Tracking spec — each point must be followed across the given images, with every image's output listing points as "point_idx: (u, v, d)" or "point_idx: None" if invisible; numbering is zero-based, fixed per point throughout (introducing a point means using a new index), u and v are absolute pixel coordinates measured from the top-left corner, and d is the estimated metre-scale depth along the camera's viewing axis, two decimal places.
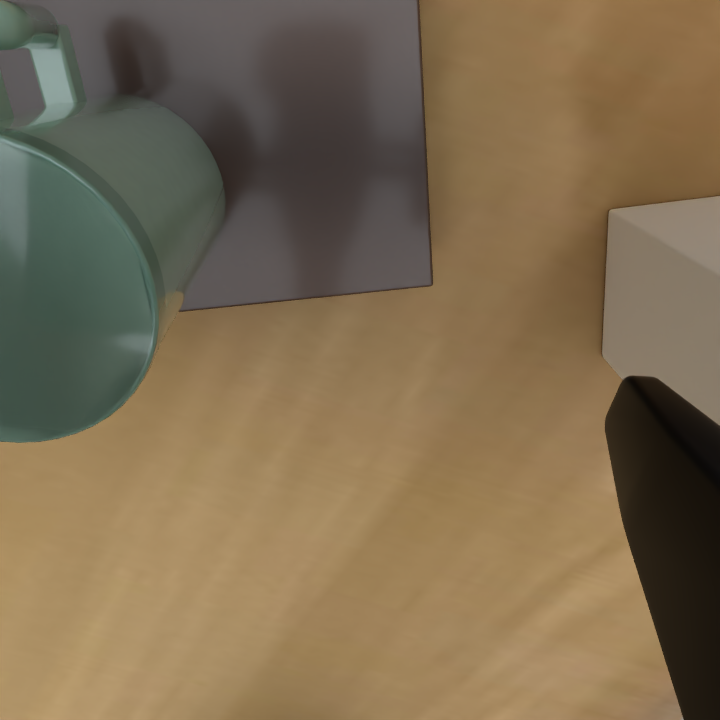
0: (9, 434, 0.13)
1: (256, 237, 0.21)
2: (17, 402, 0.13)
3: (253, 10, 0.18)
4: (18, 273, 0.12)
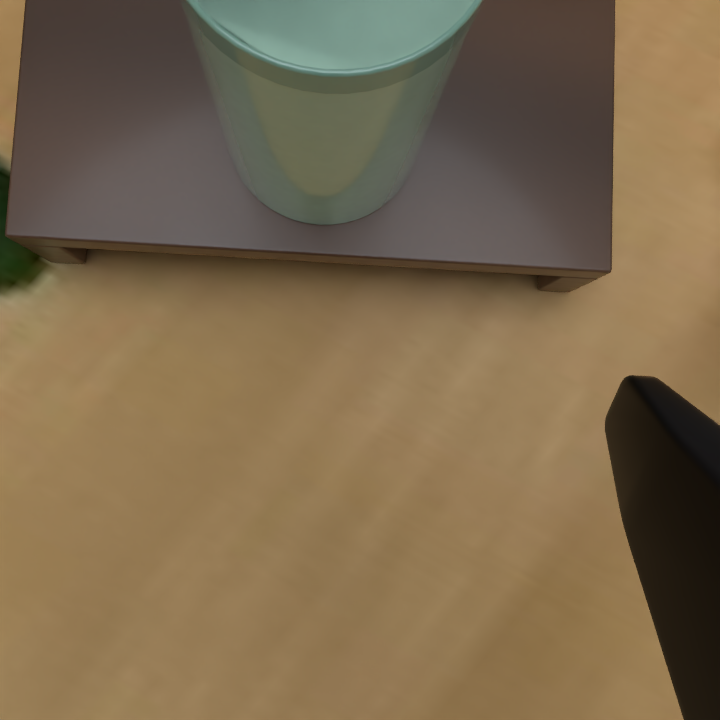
0: (295, 57, 0.11)
1: (440, 190, 0.20)
2: (319, 20, 0.11)
3: None
4: None
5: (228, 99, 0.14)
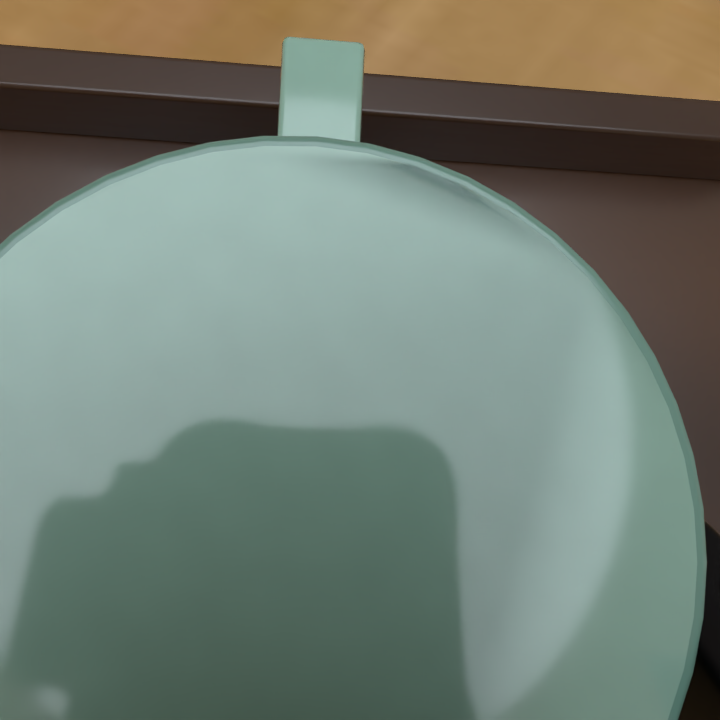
0: None
1: None
2: None
3: None
4: (396, 484, 0.05)
5: None
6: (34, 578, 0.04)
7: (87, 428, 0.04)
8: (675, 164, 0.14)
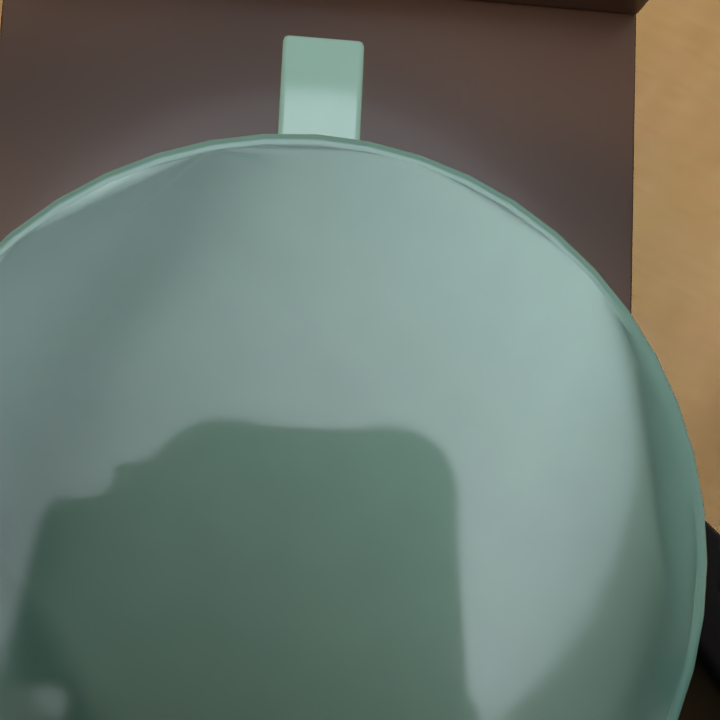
0: None
1: None
2: None
3: (484, 64, 0.19)
4: (397, 483, 0.05)
5: None
6: (34, 576, 0.04)
7: (87, 426, 0.04)
8: None
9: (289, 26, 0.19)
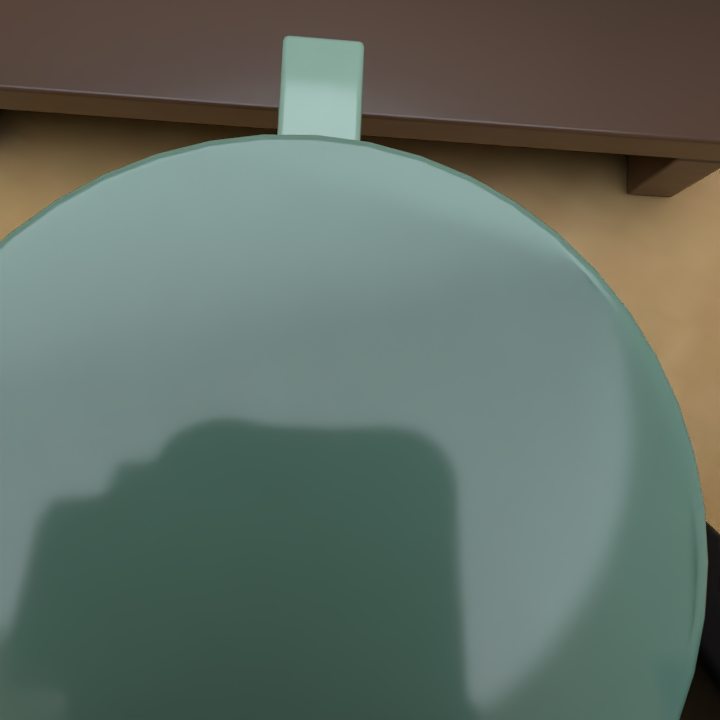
0: None
1: (506, 22, 0.14)
2: None
3: None
4: (397, 485, 0.05)
5: None
6: (33, 578, 0.04)
7: (86, 428, 0.04)
8: None
9: None
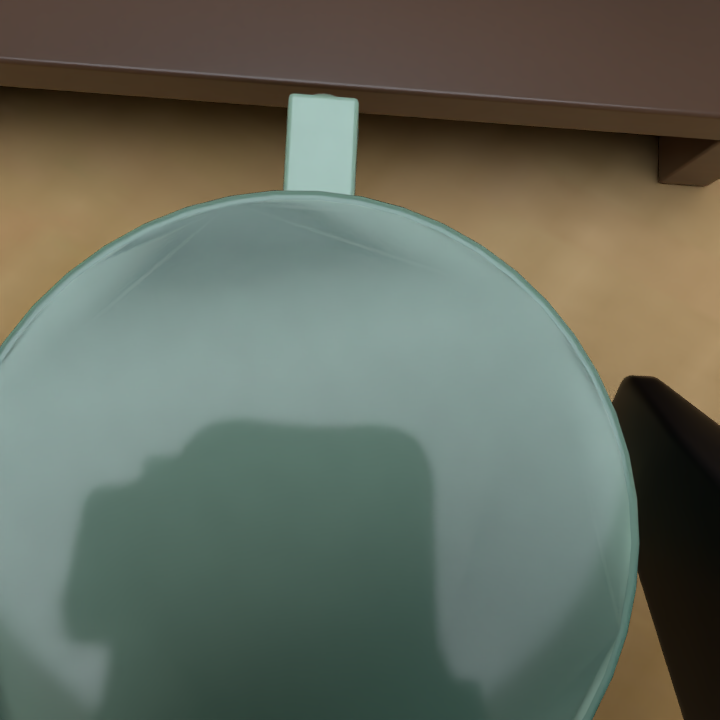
0: None
1: None
2: None
3: None
4: (383, 478, 0.06)
5: None
6: (88, 554, 0.05)
7: (130, 432, 0.06)
8: None
9: None
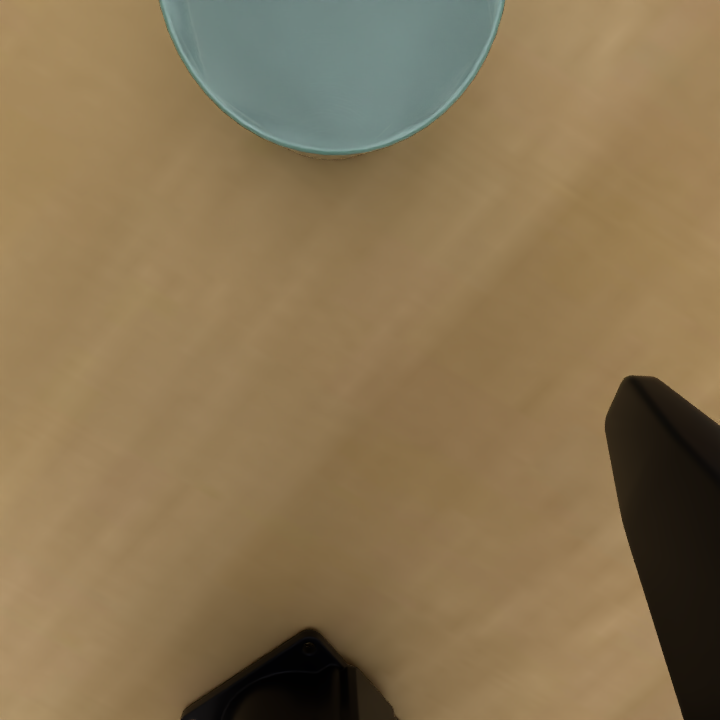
0: (296, 137, 0.12)
1: None
2: (319, 98, 0.12)
3: None
4: None
5: None
6: None
7: None
8: None
9: None
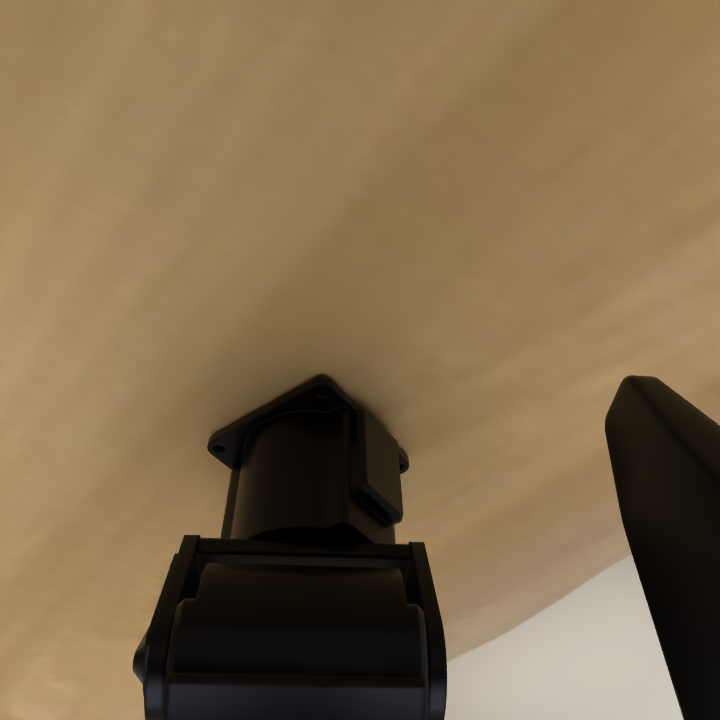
0: None
1: None
2: None
3: None
4: None
5: None
6: None
7: None
8: None
9: None
